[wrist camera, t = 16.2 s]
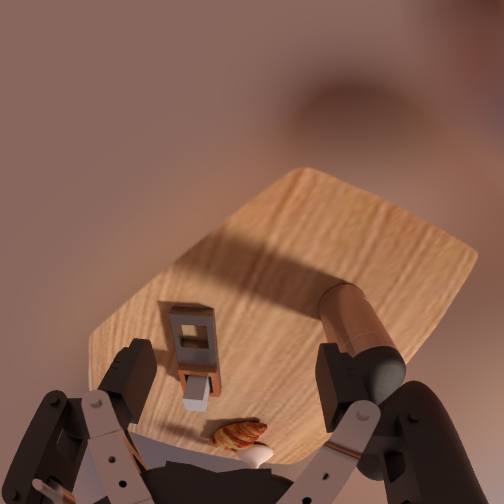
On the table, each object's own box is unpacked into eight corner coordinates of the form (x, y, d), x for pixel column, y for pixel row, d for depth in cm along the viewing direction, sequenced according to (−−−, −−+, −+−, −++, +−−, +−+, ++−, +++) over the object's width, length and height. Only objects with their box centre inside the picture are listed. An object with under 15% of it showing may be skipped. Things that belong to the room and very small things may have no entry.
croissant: (217, 433, 71) (223, 455, 66) (193, 433, 65) (199, 457, 59) (271, 413, 66) (280, 438, 60) (250, 413, 59) (258, 442, 53)
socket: (221, 386, 57) (219, 399, 54) (187, 383, 58) (184, 396, 54) (214, 308, 49) (210, 321, 46) (172, 306, 50) (166, 318, 46)
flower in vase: (265, 457, 72) (265, 520, 48) (232, 452, 71) (227, 517, 47) (280, 441, 67) (283, 512, 44) (244, 436, 66) (240, 510, 43)
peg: (211, 377, 56) (205, 411, 47) (194, 376, 56) (186, 410, 47) (209, 365, 55) (202, 400, 46) (191, 364, 55) (182, 398, 46)
